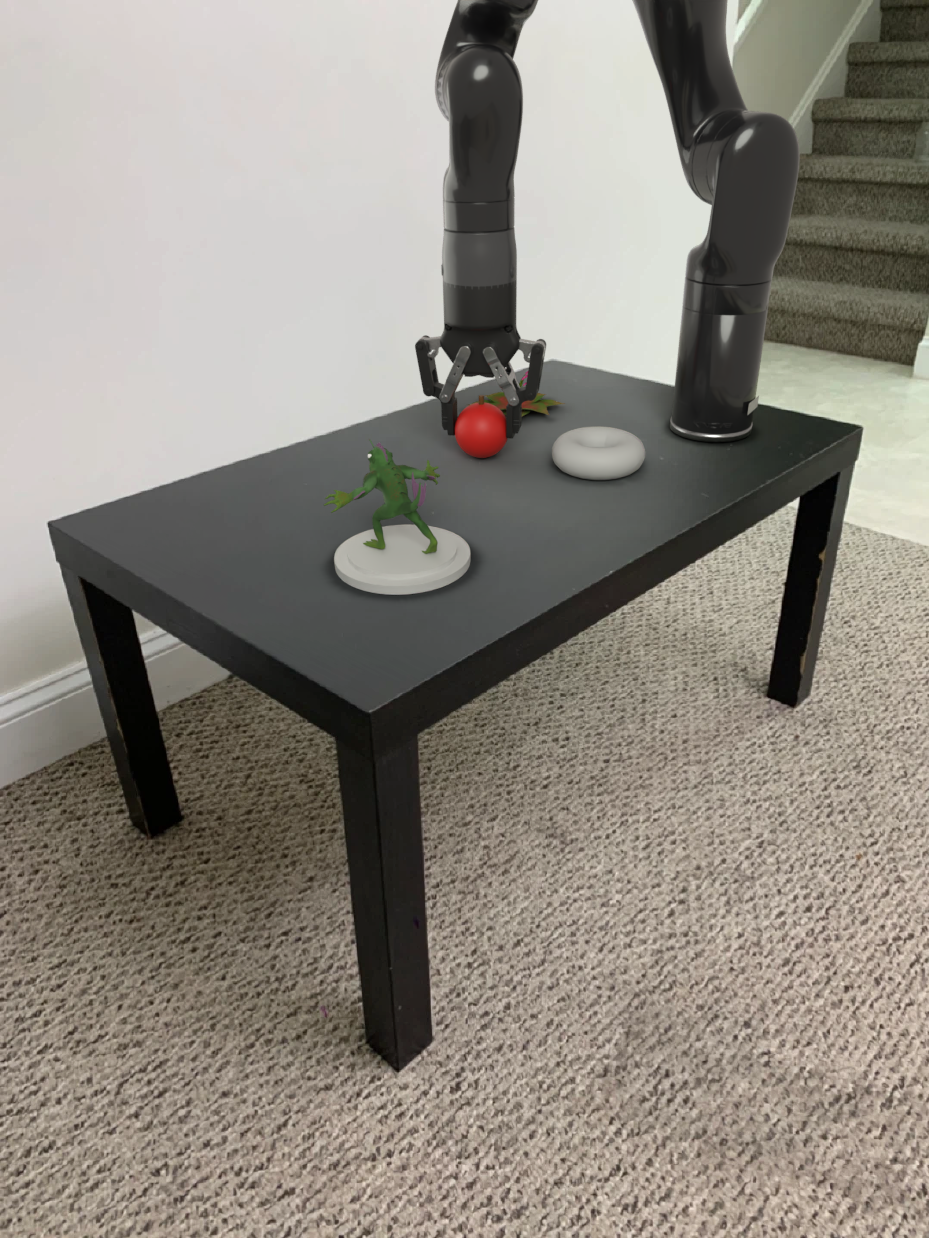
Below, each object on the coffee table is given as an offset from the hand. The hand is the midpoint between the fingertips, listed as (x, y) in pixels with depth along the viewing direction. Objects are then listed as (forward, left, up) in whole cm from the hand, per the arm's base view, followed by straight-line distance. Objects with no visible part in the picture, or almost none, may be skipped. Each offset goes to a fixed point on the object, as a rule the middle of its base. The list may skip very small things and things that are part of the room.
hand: (481, 434), depth 104 cm
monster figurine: (+26, -2, -3) cm, 27 cm away
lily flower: (-17, +1, -3) cm, 17 cm away
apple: (0, 0, -3) cm, 3 cm away
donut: (+1, +13, -3) cm, 13 cm away
